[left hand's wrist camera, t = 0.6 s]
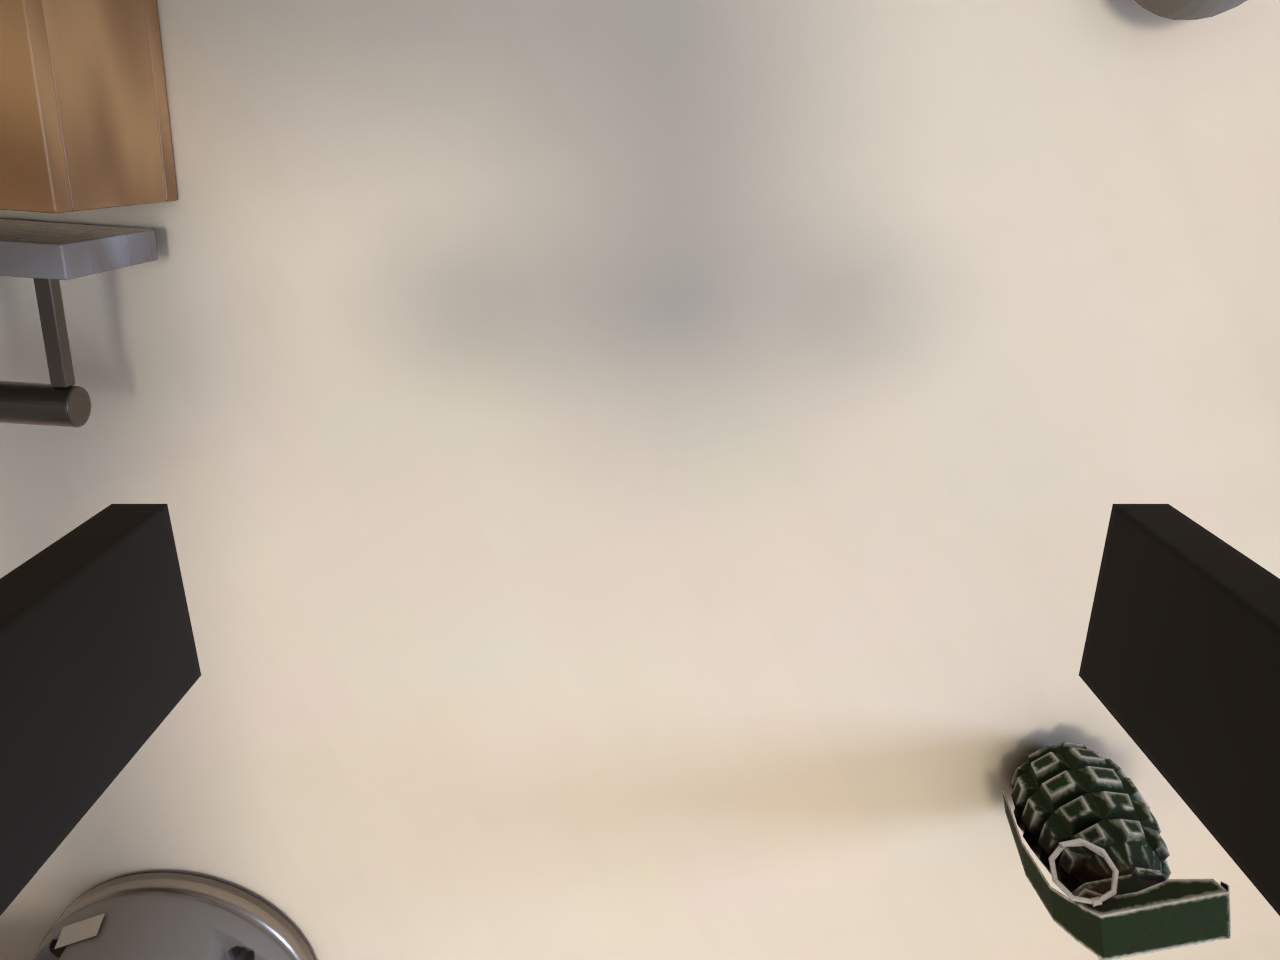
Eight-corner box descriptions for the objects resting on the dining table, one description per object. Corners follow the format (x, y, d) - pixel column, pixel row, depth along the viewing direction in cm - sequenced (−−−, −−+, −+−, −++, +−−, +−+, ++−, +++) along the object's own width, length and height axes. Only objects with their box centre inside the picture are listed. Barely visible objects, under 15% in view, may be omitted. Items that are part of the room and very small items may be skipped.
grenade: (1107, 711, 45) (1231, 860, 35) (1115, 801, 47) (1235, 965, 37) (976, 739, 45) (1064, 892, 36) (989, 826, 47) (1076, 994, 38)
